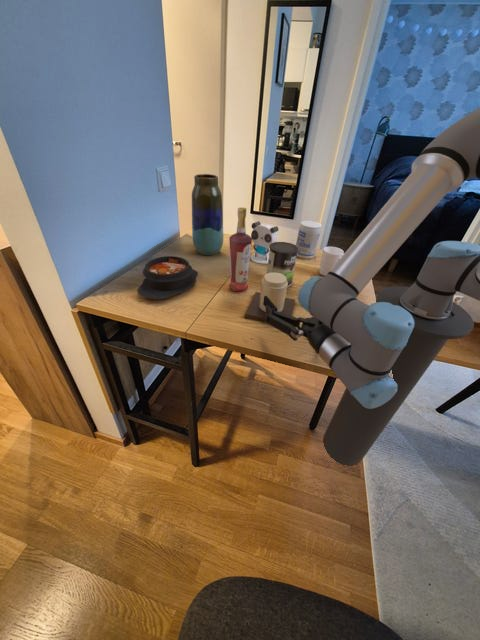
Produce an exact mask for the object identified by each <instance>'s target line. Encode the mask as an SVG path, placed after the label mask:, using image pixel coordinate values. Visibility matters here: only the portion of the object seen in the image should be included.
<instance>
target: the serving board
mask: <svg viewBox="0 0 480 640" xmlns="http://www.w3.org/2000/svg"><path fill="white" fill-rule="evenodd" d="M259 301H260V292H258V291H255V293H254V295H253V297H252V299H251V300H250V303H249V304H248V307H247V309H246V311H245V313H244V319H245V318H246V319H249V320H255V321H259V322H264V323H266V322H265V321H266V314H267V312H265V311H263V310H261V309H260V307H259ZM295 304H296V299H295V298H290V297H285V303H284V308H283V310H282V311H281V313H284V314H287V315H290V316H293V312H294V307H295Z"/></svg>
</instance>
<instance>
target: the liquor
mask: <svg viewBox="0 0 480 640" xmlns="http://www.w3.org/2000/svg"><path fill="white" fill-rule="evenodd" d="M246 217H247V208H246V207H237V226H236V233H233V234H231V235H230V236H229V239H228V240H229V269H230V270H229V271H230V273H229V274H230V282H229V285H228V286H229V288H230V289H231V290H232V291H233V292H236V293H242V292H244V291H246V290H248V287H249V285H248V277H249V276H248V275H249V267H250V260H251V259H250V256H251V254H252V253H251V252H252V242H253V240H252V238H251V235H249V234H248V233H246V231H247V230H246V228H247V227H246Z"/></svg>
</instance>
